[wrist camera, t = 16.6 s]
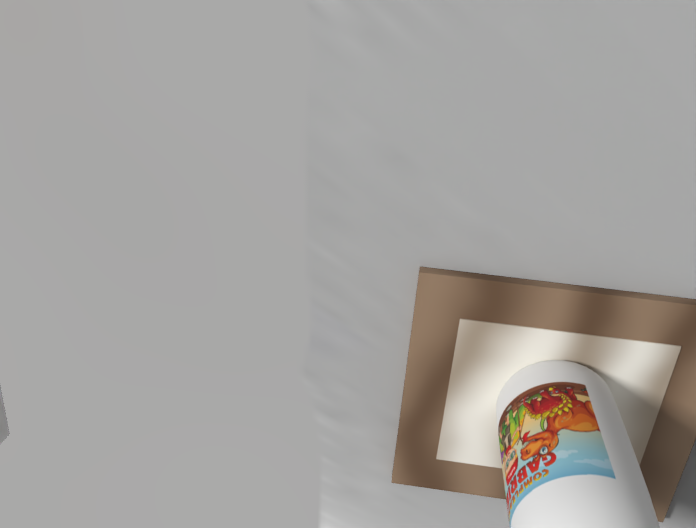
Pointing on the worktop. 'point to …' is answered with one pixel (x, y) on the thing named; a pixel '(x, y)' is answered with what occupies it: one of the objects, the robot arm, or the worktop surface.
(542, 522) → the milk bottle
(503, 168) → the worktop surface
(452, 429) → the writing board
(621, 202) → the worktop surface
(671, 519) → the worktop surface
